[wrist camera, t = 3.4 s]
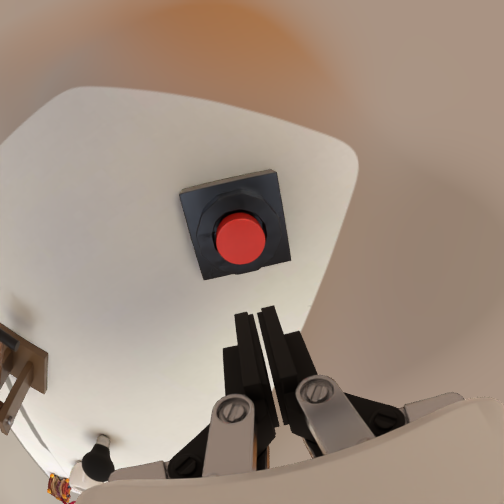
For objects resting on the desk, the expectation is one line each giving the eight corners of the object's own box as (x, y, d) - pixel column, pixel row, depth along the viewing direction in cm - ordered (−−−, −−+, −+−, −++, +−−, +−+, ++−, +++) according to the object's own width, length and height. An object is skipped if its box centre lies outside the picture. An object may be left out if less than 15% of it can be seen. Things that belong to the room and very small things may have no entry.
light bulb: (118, 446, 39) (111, 489, 30) (89, 436, 38) (79, 478, 29) (121, 434, 38) (113, 481, 28) (89, 423, 36) (78, 469, 27)
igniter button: (211, 218, 22) (210, 225, 20) (257, 207, 22) (260, 213, 20) (222, 260, 23) (222, 269, 22) (265, 250, 23) (269, 258, 22)
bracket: (0, 322, 27) (-43, 381, 15) (48, 353, 29) (12, 422, 18) (4, 363, 30) (-27, 417, 18) (46, 389, 32) (21, 449, 21)
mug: (106, 476, 46) (102, 501, 39) (75, 466, 44) (70, 489, 37) (105, 462, 42) (100, 490, 35) (69, 449, 40) (62, 476, 33)
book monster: (49, 471, 47) (85, 483, 51) (54, 478, 50) (87, 489, 54) (45, 498, 38) (82, 511, 41) (50, 503, 41) (85, 514, 44)
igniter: (182, 189, 24) (175, 198, 20) (271, 168, 24) (281, 174, 21) (204, 269, 27) (203, 290, 24) (286, 251, 27) (296, 269, 24)
